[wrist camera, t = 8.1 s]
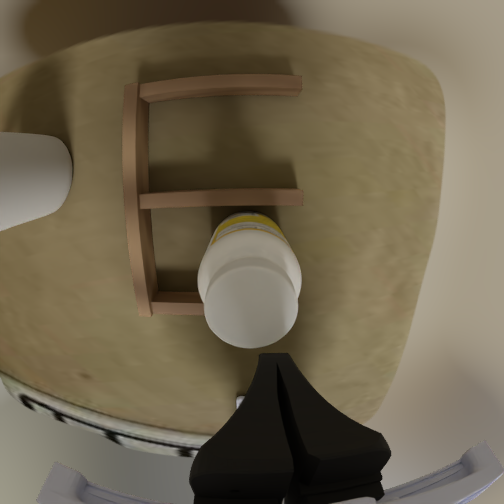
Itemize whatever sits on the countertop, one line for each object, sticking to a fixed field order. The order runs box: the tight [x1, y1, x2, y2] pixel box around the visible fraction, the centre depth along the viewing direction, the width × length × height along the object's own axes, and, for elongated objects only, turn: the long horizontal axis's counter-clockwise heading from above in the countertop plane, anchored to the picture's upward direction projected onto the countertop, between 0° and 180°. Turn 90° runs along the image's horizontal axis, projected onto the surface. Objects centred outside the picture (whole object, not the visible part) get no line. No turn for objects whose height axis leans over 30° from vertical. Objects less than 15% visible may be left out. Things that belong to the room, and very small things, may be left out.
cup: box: [0, 132, 73, 231], centre depth 14 cm, size 7×10×9 cm
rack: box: [122, 74, 303, 317], centre depth 18 cm, size 17×12×2 cm
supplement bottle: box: [197, 211, 302, 348], centre depth 16 cm, size 5×5×10 cm
